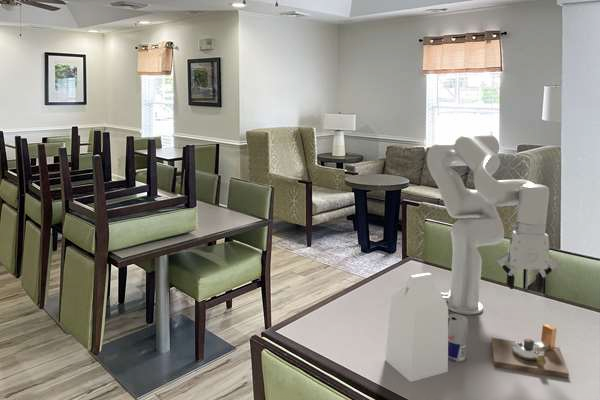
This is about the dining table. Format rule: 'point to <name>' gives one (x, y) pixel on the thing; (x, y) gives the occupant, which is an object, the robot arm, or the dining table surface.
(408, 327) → the milk
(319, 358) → the dining table surface
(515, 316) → the dining table surface
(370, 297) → the dining table surface
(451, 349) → the energy drink
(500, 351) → the walnut board
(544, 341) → the crank handle
